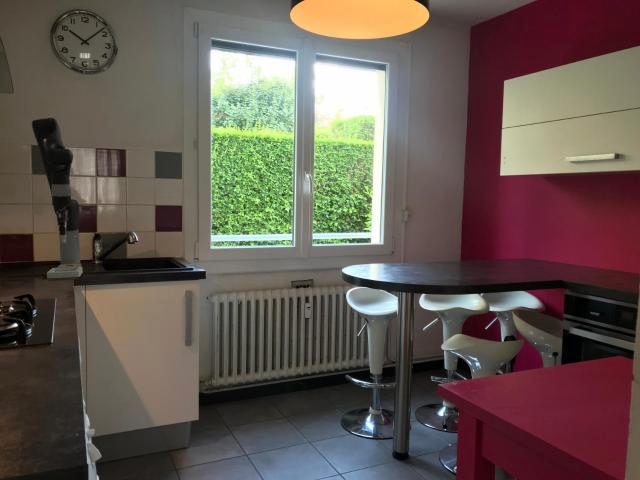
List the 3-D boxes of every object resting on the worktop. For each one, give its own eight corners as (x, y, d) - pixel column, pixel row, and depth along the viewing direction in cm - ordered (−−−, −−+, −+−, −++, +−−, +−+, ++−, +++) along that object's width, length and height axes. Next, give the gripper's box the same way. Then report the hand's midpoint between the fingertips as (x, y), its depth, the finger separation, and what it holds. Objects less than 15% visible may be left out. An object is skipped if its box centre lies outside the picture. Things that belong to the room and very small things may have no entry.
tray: (52, 275, 237) (52, 268, 236) (82, 274, 240) (82, 267, 240) (47, 280, 225) (46, 272, 224) (78, 279, 229) (78, 271, 228)
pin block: (60, 271, 247) (60, 264, 246) (81, 271, 250) (81, 263, 249) (57, 275, 238) (56, 267, 238) (78, 274, 241) (78, 266, 241)
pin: (60, 243, 232) (59, 221, 231) (67, 243, 233) (66, 221, 231) (60, 244, 229) (59, 221, 228) (66, 244, 230) (65, 221, 229)
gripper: (54, 194, 234) (56, 233, 236) (48, 195, 221) (50, 236, 223) (73, 194, 236) (74, 233, 238) (68, 195, 223) (70, 236, 225)
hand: (63, 234), depth 230 cm, fingers closed on pin, 2 cm apart
